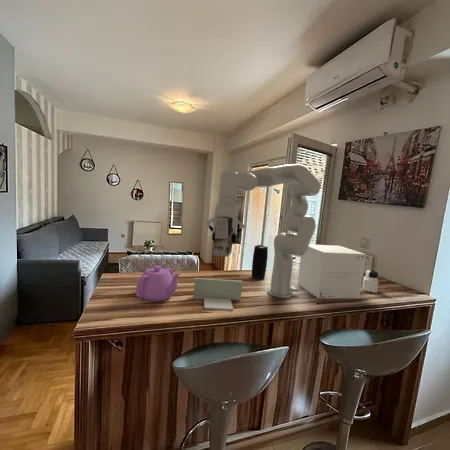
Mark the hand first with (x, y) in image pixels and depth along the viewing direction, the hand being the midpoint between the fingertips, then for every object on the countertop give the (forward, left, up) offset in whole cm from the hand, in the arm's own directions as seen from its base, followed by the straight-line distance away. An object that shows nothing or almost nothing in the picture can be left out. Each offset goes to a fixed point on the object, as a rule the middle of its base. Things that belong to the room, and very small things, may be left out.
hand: (223, 242), depth 113 cm
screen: (0, -7, -28) cm, 29 cm away
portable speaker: (-27, -43, -28) cm, 58 cm away
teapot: (+26, -5, -28) cm, 39 cm away
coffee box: (0, 0, -5) cm, 5 cm away
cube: (-63, -26, -28) cm, 74 cm away
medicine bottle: (-91, -31, -28) cm, 100 cm away
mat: (0, 0, -28) cm, 28 cm away
